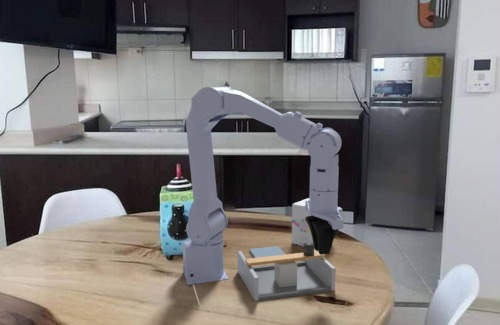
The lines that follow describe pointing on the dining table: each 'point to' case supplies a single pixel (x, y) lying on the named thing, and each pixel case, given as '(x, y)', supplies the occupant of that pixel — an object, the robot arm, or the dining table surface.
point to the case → (308, 282)
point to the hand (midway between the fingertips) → (321, 251)
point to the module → (285, 273)
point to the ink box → (300, 224)
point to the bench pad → (266, 251)
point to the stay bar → (287, 256)
